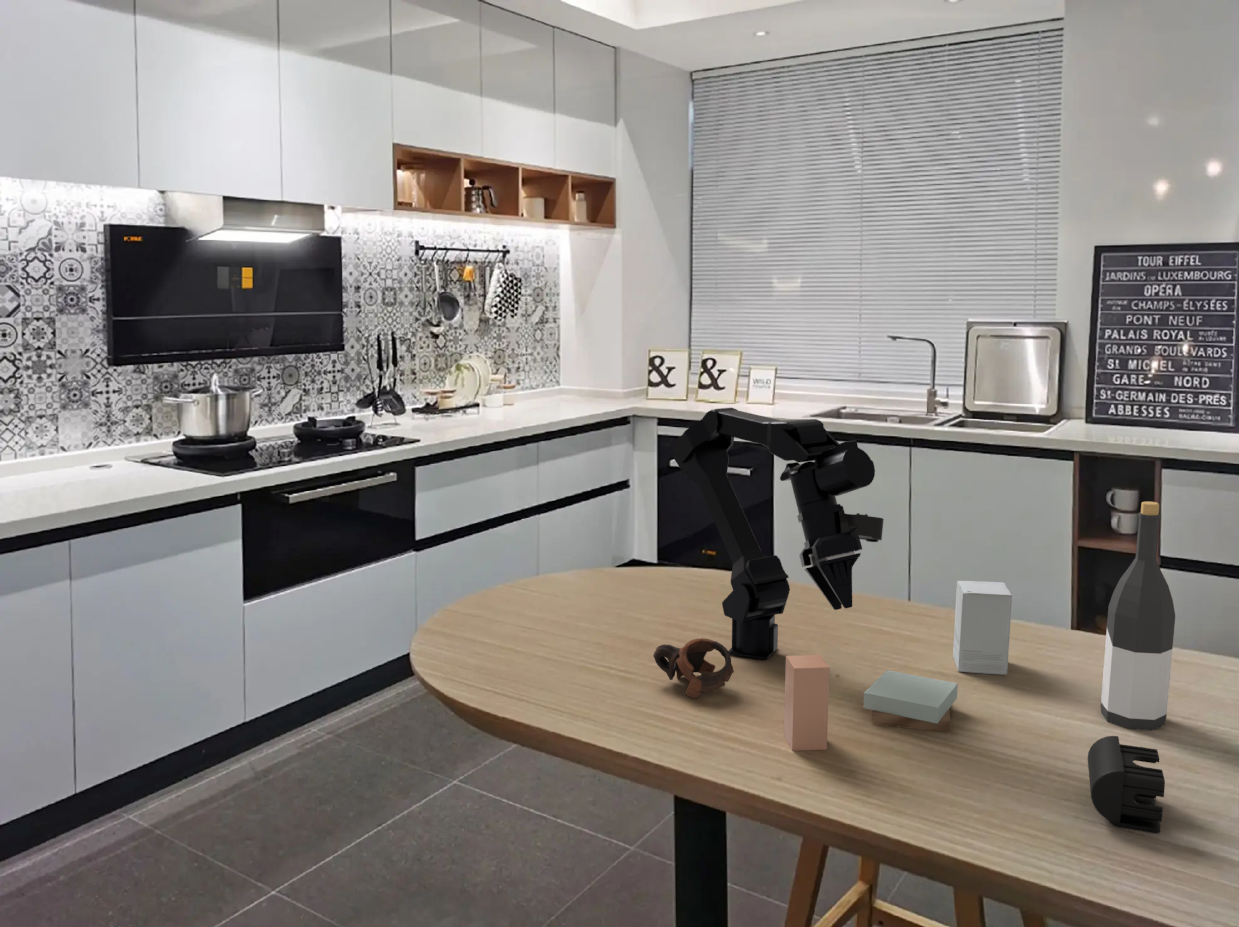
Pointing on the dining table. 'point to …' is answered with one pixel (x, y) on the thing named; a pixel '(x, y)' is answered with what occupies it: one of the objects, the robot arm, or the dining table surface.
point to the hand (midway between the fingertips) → (843, 608)
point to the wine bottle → (1139, 637)
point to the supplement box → (982, 627)
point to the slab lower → (911, 721)
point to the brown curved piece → (694, 665)
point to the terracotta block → (806, 702)
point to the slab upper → (911, 696)
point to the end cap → (1125, 784)
